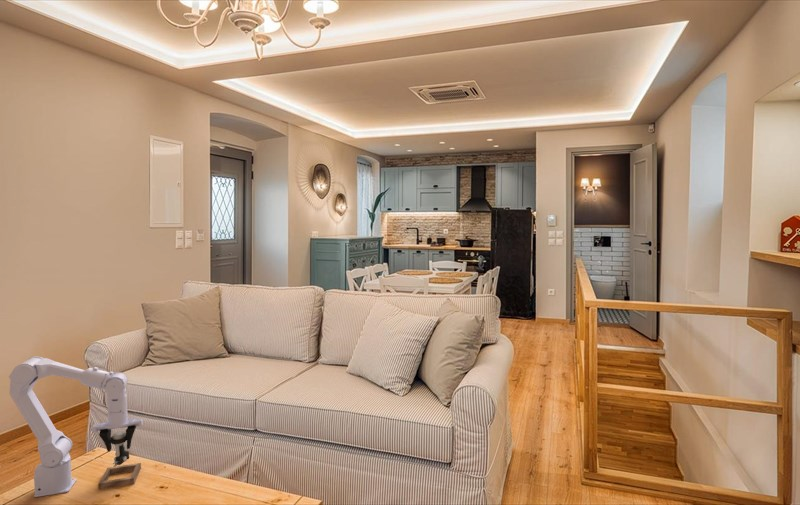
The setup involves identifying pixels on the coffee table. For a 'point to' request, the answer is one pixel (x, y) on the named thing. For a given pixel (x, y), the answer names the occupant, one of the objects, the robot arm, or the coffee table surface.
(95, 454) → the coffee table surface
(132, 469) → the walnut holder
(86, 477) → the coffee table surface
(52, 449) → the robot arm
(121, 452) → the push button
